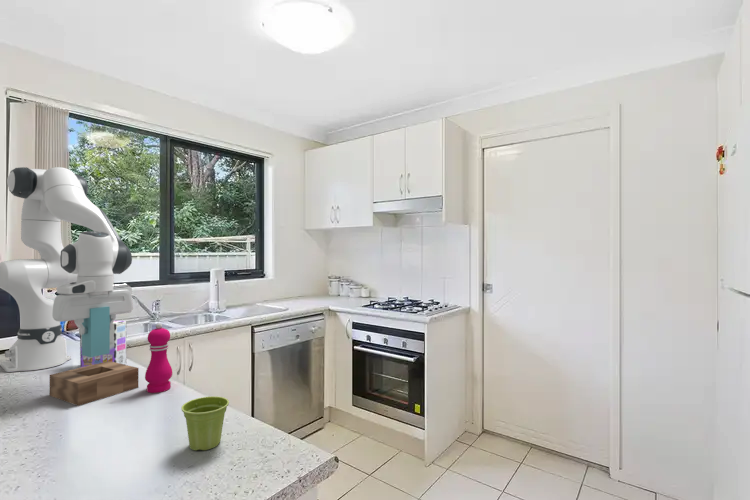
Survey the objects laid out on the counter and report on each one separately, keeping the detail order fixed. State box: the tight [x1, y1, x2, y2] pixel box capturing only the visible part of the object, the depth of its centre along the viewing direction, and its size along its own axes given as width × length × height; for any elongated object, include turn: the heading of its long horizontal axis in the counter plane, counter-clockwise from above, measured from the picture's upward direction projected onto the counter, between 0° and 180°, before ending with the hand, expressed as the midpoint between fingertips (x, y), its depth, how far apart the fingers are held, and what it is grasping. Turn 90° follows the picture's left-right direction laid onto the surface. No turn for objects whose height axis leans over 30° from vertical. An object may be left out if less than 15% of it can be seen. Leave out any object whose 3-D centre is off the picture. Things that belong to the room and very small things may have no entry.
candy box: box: [79, 320, 127, 368], centre depth 140 cm, size 14×6×16 cm, turn 84°
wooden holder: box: [48, 361, 139, 407], centre depth 115 cm, size 16×16×6 cm
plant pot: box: [180, 395, 230, 451], centre depth 83 cm, size 9×9×9 cm
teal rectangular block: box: [82, 307, 110, 357], centre depth 115 cm, size 5×5×14 cm
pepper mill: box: [144, 322, 173, 394], centre depth 117 cm, size 7×7×20 cm
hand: (95, 332), depth 115 cm, fingers closed on teal rectangular block, 5 cm apart
